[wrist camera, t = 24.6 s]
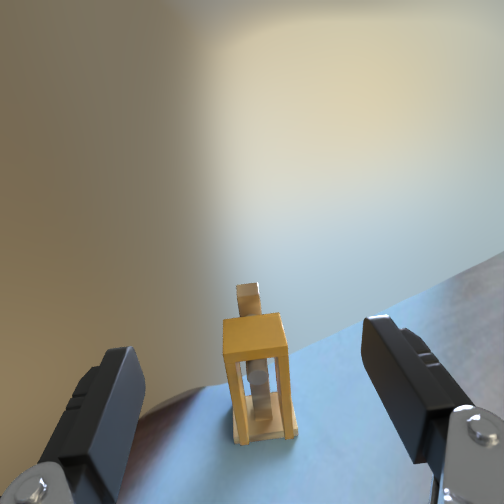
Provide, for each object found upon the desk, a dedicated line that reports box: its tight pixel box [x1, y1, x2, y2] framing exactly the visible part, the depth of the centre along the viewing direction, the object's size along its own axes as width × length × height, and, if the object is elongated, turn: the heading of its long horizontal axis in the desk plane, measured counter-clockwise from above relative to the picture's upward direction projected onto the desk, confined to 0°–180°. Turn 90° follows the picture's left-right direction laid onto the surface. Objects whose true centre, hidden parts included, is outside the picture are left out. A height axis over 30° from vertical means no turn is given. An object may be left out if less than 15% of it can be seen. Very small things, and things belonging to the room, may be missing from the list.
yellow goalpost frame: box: [223, 312, 294, 446], centre depth 27 cm, size 5×4×11 cm
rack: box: [233, 283, 298, 444], centre depth 30 cm, size 7×10×18 cm
